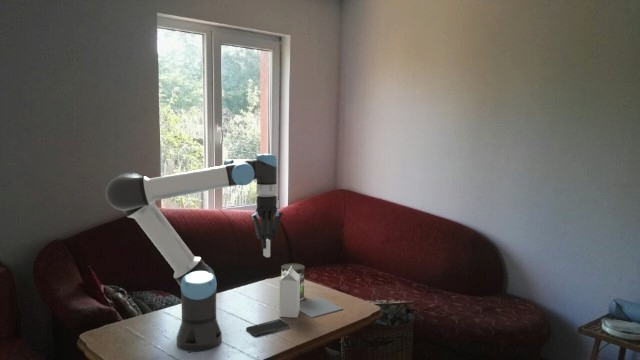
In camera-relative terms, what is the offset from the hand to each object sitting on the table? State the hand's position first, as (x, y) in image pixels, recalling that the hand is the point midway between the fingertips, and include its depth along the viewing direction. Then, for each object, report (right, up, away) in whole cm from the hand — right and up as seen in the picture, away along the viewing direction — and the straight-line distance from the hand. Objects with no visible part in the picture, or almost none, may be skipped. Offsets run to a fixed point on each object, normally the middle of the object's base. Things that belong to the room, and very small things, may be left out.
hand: (266, 256), depth 180 cm
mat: (+19, -24, +17) cm, 35 cm away
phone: (+1, -27, -5) cm, 27 cm away
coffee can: (+8, -23, +28) cm, 37 cm away
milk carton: (+8, -25, +9) cm, 28 cm away
